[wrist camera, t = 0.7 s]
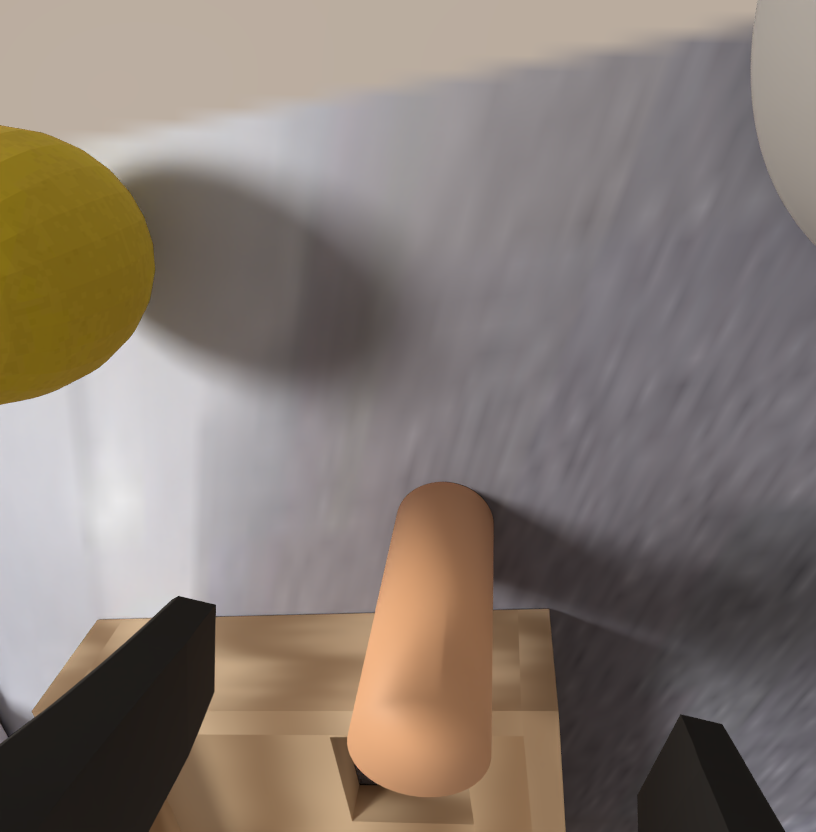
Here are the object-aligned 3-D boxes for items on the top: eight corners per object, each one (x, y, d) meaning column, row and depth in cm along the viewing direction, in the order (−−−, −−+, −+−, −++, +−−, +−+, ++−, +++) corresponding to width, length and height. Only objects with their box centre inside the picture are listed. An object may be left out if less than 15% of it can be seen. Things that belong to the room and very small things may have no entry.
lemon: (214, 330, 19) (51, 484, 12) (27, 319, 20) (-232, 460, 13) (190, 115, 17) (-31, 154, 10) (-23, 109, 17) (-378, 141, 10)
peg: (403, 564, 22) (359, 796, 15) (389, 484, 21) (335, 698, 14) (497, 560, 22) (497, 798, 15) (489, 479, 21) (484, 697, 14)
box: (194, 844, 31) (154, 946, 27) (97, 619, 25) (31, 711, 22) (564, 856, 28) (573, 971, 25) (549, 608, 23) (558, 711, 19)
